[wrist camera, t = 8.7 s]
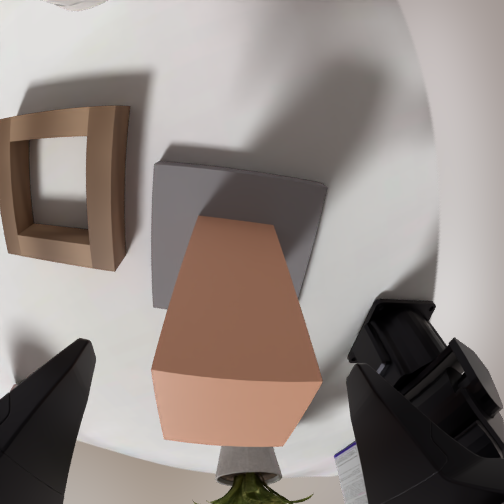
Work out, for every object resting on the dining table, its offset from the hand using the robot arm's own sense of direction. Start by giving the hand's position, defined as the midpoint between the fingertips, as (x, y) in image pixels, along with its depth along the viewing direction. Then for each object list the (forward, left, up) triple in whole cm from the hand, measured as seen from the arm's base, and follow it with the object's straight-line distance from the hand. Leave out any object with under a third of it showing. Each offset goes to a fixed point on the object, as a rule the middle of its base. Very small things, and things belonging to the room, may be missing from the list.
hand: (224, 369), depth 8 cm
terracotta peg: (0, 0, -8) cm, 8 cm away
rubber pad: (0, 0, -9) cm, 9 cm away
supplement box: (-23, +32, -9) cm, 41 cm away
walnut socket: (+11, -3, -9) cm, 14 cm away
